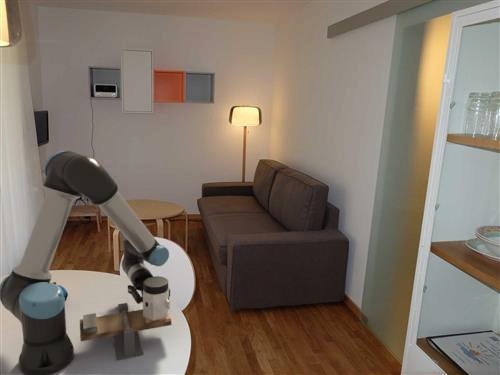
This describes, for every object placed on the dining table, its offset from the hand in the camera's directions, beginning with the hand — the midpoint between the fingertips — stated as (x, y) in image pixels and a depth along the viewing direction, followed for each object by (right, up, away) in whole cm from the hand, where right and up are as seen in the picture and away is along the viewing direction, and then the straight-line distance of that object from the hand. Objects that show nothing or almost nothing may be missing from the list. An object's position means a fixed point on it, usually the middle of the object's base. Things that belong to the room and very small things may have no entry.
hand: (161, 307), depth 132 cm
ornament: (-45, -6, +22) cm, 50 cm away
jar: (-3, -4, +6) cm, 8 cm away
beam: (-12, -6, +2) cm, 13 cm away
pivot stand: (-12, -12, +3) cm, 18 cm away
